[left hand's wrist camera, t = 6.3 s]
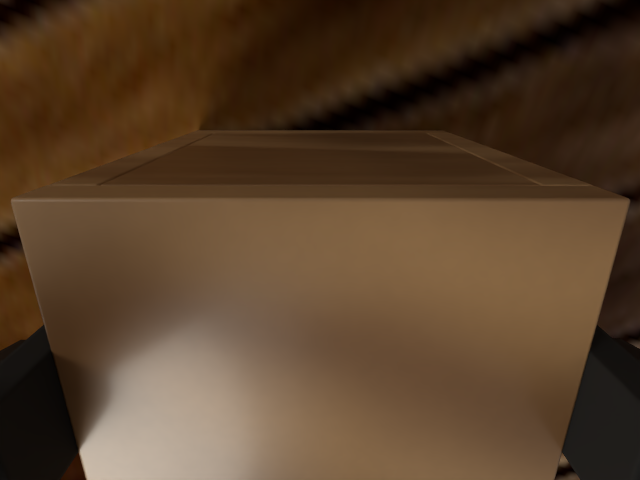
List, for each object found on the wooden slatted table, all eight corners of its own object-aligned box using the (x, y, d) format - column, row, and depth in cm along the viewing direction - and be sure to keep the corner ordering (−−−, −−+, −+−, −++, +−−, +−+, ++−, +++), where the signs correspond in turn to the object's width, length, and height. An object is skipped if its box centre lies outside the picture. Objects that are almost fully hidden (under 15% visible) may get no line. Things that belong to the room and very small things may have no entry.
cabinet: (410, 456, 25) (481, 749, 14) (229, 456, 25) (158, 749, 14) (444, 130, 18) (633, 199, 7) (196, 130, 18) (7, 198, 7)
